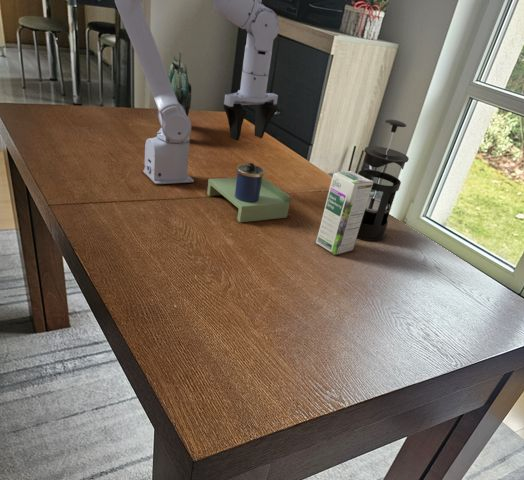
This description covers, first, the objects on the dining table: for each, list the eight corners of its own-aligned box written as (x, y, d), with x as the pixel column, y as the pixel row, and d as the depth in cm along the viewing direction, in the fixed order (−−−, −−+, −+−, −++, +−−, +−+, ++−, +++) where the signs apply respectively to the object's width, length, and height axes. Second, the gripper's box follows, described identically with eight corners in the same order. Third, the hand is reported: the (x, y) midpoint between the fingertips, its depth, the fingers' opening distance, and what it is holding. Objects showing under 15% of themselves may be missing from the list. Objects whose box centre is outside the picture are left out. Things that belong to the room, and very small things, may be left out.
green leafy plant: (165, 121, 155) (168, 46, 143) (186, 123, 156) (191, 49, 144) (168, 140, 140) (171, 59, 128) (191, 143, 141) (197, 63, 129)
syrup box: (314, 243, 102) (331, 172, 93) (334, 238, 106) (352, 169, 97) (334, 255, 99) (354, 183, 90) (354, 250, 103) (375, 180, 94)
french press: (393, 243, 109) (431, 131, 95) (354, 242, 106) (388, 127, 92) (369, 219, 117) (401, 114, 103) (332, 218, 114) (360, 109, 100)
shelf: (239, 222, 104) (242, 200, 102) (206, 194, 114) (208, 173, 111) (286, 217, 110) (291, 196, 108) (252, 191, 120) (255, 171, 117)
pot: (230, 199, 104) (234, 164, 100) (235, 190, 109) (240, 156, 105) (257, 205, 104) (263, 170, 100) (262, 195, 109) (267, 162, 104)
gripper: (266, 68, 115) (257, 130, 123) (217, 67, 106) (211, 134, 114) (288, 76, 112) (277, 139, 120) (240, 76, 103) (232, 144, 111)
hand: (246, 138), depth 117 cm, fingers open, 7 cm apart
